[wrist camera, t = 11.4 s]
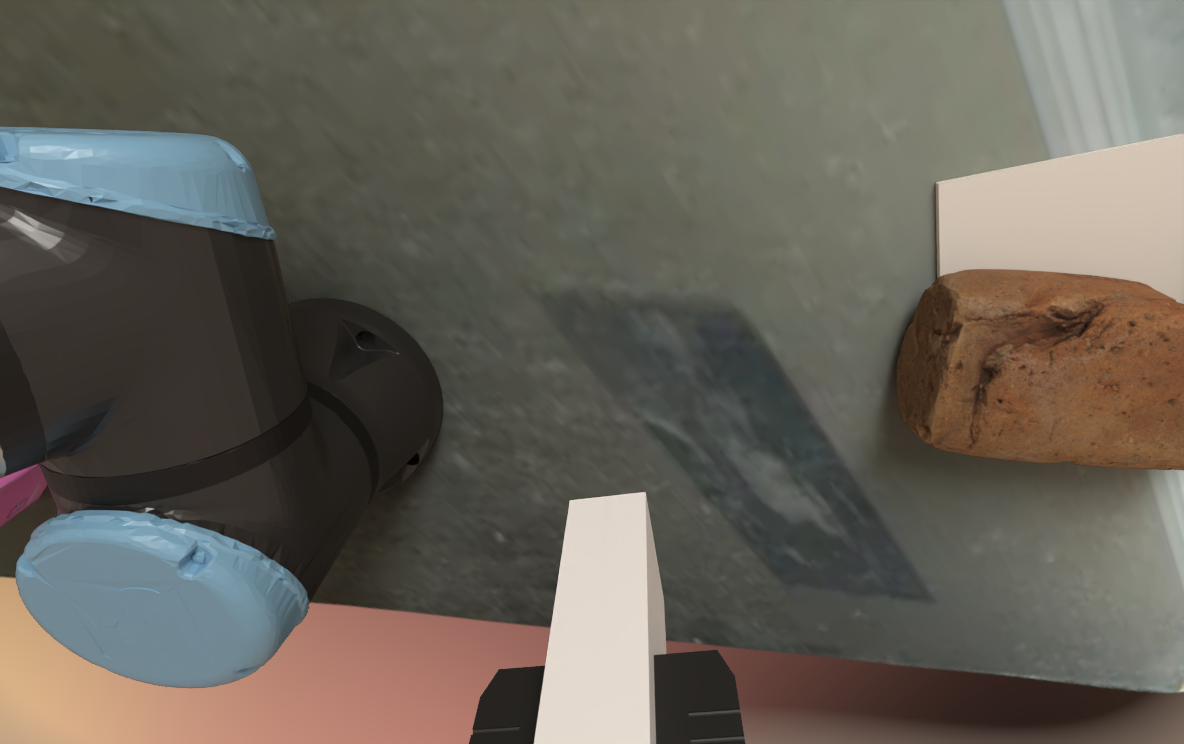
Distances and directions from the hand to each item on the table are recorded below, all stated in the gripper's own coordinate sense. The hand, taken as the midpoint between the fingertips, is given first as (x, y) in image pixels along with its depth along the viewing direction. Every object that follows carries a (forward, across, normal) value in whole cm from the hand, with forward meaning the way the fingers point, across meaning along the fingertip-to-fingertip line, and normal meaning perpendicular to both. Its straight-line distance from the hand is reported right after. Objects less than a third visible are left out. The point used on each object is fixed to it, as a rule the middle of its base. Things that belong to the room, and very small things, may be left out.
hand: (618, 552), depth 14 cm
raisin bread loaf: (+29, +16, -11) cm, 35 cm away
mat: (+33, +27, -9) cm, 44 cm away
